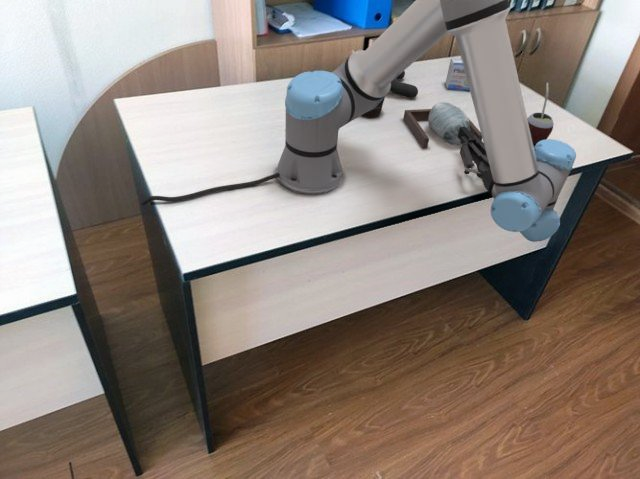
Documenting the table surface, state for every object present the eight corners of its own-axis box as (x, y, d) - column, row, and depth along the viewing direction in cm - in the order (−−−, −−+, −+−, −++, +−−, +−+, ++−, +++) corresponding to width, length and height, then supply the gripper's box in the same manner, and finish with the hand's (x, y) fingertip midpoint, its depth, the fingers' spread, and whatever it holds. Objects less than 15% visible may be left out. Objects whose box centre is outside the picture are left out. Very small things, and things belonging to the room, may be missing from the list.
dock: (422, 148, 132) (425, 138, 130) (403, 119, 144) (404, 110, 142) (480, 145, 135) (483, 135, 134) (456, 117, 147) (459, 107, 145)
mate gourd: (533, 153, 134) (554, 100, 124) (510, 139, 139) (528, 87, 129) (551, 146, 137) (573, 94, 127) (528, 133, 142) (547, 82, 132)
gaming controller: (394, 84, 167) (371, 69, 162) (405, 69, 164) (382, 53, 159) (409, 107, 155) (385, 92, 150) (422, 92, 152) (397, 76, 147)
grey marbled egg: (481, 138, 132) (470, 104, 127) (448, 155, 132) (436, 122, 127) (459, 124, 143) (448, 92, 139) (429, 140, 144) (417, 109, 139)
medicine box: (446, 89, 161) (453, 62, 155) (444, 83, 164) (451, 57, 158) (471, 91, 161) (479, 64, 155) (469, 85, 164) (476, 58, 158)
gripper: (474, 202, 112) (434, 146, 129) (527, 197, 115) (481, 143, 132) (484, 173, 107) (440, 119, 124) (539, 169, 110) (489, 116, 127)
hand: (461, 131), depth 128 cm, fingers closed
